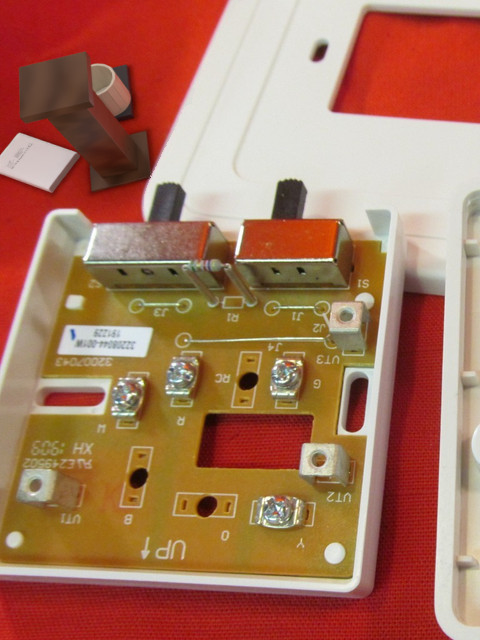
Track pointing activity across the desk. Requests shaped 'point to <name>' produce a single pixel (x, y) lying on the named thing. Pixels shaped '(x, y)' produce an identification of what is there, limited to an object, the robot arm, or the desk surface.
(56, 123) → the stand
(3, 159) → the hard drive
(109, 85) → the cup
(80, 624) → the desk surface
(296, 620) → the desk surface
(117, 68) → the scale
